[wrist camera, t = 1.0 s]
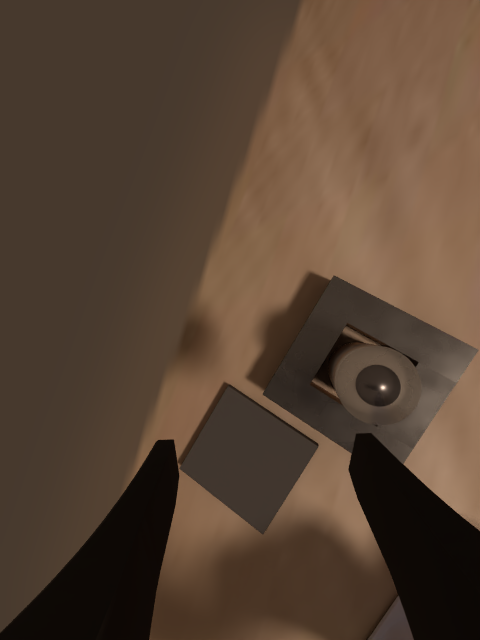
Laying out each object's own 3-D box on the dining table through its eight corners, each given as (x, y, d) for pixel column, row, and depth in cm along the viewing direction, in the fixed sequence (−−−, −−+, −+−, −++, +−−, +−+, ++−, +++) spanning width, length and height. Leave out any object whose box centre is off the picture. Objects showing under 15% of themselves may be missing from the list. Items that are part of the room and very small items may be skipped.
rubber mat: (318, 444, 24) (318, 446, 23) (264, 529, 24) (262, 534, 24) (229, 384, 26) (228, 385, 25) (182, 465, 26) (179, 468, 26)
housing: (461, 348, 22) (478, 349, 19) (384, 466, 22) (392, 480, 20) (331, 280, 24) (333, 275, 22) (266, 389, 25) (262, 394, 23)
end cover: (398, 361, 23) (439, 373, 16) (367, 409, 23) (394, 442, 16) (346, 331, 24) (362, 331, 17) (317, 378, 24) (321, 396, 17)
